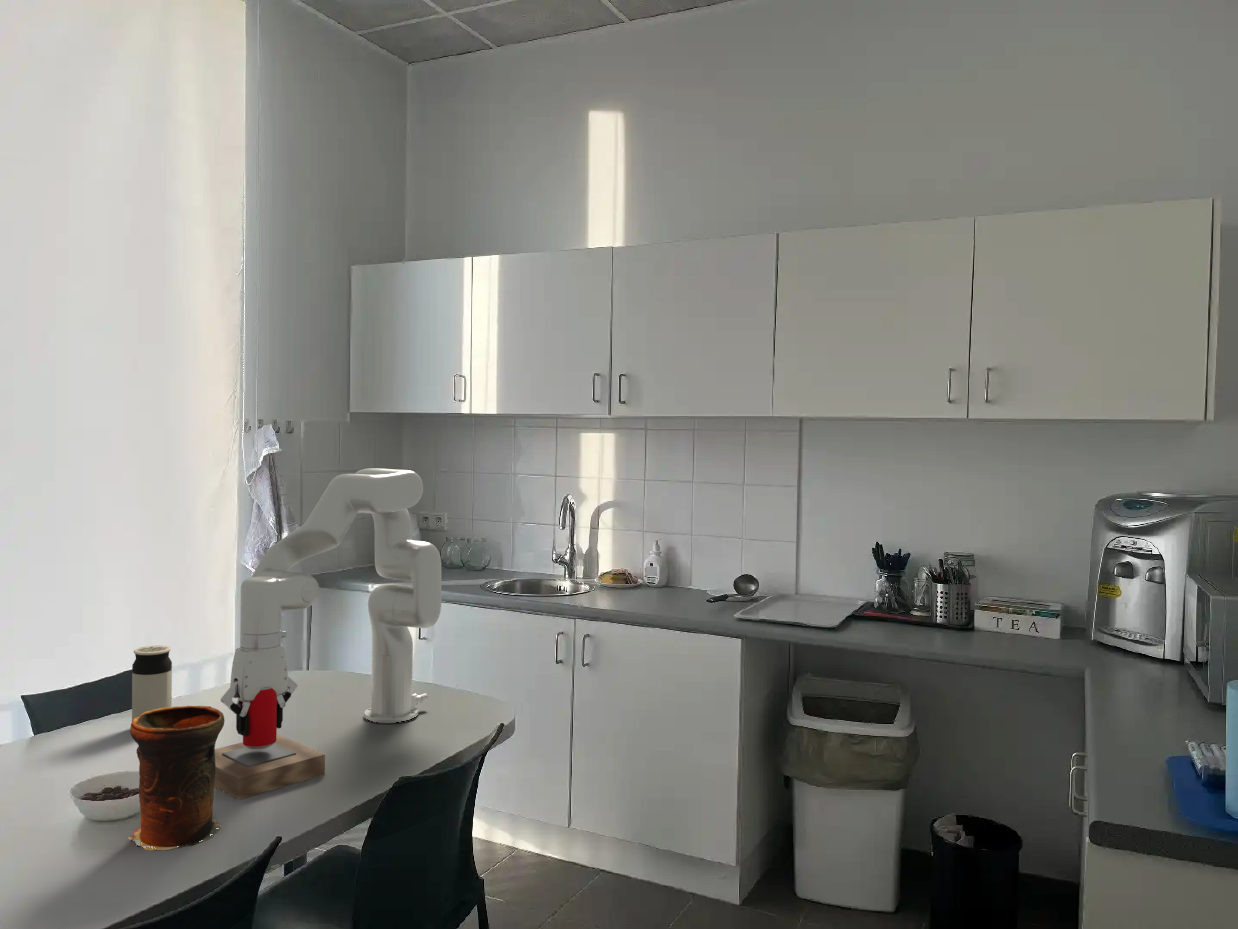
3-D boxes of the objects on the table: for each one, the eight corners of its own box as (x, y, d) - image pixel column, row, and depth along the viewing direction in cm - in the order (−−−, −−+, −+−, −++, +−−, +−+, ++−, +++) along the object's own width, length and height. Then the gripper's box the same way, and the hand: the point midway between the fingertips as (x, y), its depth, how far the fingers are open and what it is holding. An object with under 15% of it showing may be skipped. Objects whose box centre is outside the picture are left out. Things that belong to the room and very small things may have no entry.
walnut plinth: (276, 752, 200) (277, 732, 200) (324, 774, 188) (325, 752, 188) (192, 775, 186) (192, 753, 186) (238, 799, 174) (238, 776, 174)
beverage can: (265, 738, 191) (266, 679, 191) (282, 745, 187) (283, 685, 187) (236, 745, 186) (237, 685, 186) (253, 753, 183) (253, 691, 182)
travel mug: (170, 732, 211) (170, 652, 210) (130, 735, 208) (130, 654, 207) (172, 721, 218) (173, 644, 218) (133, 724, 216) (134, 646, 215)
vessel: (148, 814, 167) (152, 702, 166) (232, 816, 168) (236, 704, 167) (110, 851, 152) (114, 728, 151) (202, 853, 153) (206, 731, 152)
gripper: (290, 631, 195) (289, 717, 196) (208, 644, 182) (207, 736, 183) (310, 636, 190) (309, 725, 191) (227, 650, 177) (226, 745, 178)
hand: (259, 730), depth 187 cm, fingers closed on beverage can, 6 cm apart
